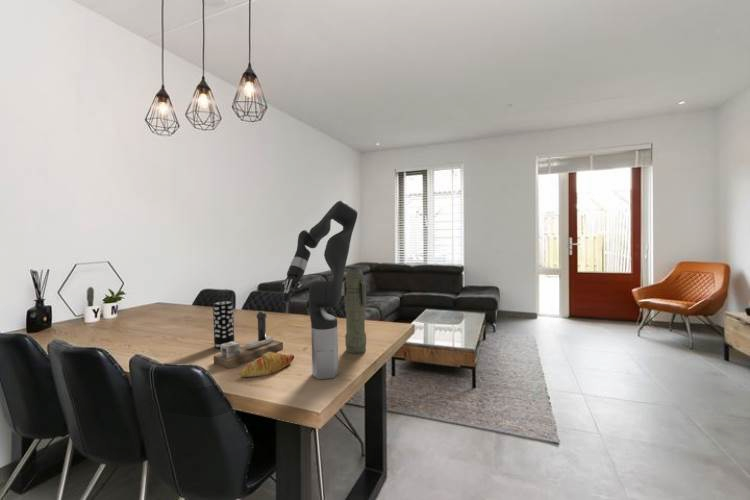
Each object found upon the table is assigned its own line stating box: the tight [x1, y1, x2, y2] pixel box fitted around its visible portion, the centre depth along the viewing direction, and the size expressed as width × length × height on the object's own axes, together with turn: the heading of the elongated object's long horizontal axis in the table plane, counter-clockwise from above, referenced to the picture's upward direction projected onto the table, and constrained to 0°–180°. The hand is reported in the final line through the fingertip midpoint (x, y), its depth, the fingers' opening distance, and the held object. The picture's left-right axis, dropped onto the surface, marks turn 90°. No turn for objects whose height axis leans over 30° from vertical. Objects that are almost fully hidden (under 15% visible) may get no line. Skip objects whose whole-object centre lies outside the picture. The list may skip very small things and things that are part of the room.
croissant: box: [238, 351, 295, 378], centre depth 123 cm, size 21×10×8 cm, turn 134°
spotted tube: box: [212, 300, 235, 350], centre depth 151 cm, size 8×8×20 cm
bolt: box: [245, 310, 275, 349], centre depth 142 cm, size 12×4×14 cm, turn 146°
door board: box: [213, 339, 284, 369], centre depth 138 cm, size 26×10×8 cm, turn 146°
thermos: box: [343, 268, 368, 355], centre depth 142 cm, size 9×12×35 cm
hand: (284, 301), depth 153 cm, fingers closed
